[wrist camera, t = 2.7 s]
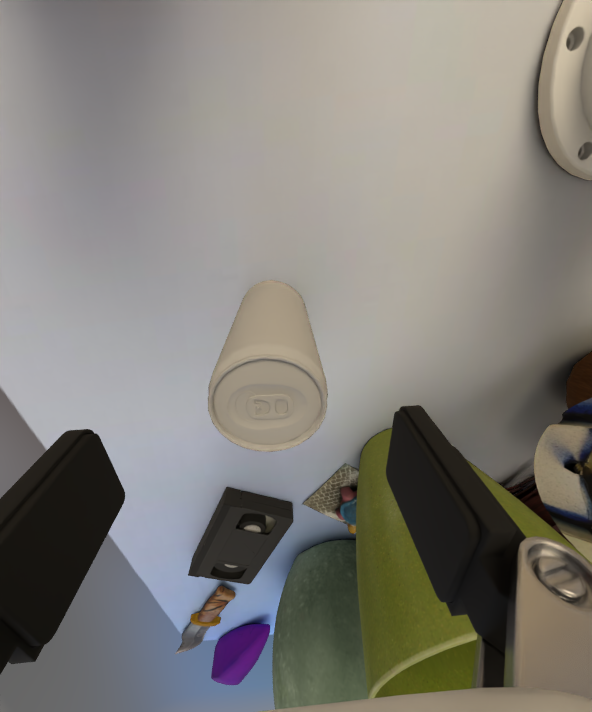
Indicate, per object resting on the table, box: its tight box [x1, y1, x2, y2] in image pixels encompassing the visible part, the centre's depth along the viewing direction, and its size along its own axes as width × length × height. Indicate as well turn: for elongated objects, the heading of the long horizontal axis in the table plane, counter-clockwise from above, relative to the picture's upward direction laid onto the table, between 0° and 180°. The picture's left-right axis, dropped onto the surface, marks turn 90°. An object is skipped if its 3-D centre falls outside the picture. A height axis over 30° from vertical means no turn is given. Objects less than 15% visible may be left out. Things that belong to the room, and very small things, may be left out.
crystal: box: [211, 624, 270, 685], centre depth 44 cm, size 5×5×15 cm
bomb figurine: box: [303, 464, 359, 534], centre depth 29 cm, size 8×8×5 cm
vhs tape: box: [188, 487, 293, 584], centre depth 33 cm, size 14×8×2 cm, turn 156°
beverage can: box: [208, 280, 328, 452], centre depth 16 cm, size 5×5×12 cm
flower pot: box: [356, 428, 592, 699], centre depth 22 cm, size 15×15×16 cm
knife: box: [176, 586, 235, 654], centre depth 43 cm, size 25×1×5 cm
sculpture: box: [273, 540, 368, 710], centre depth 30 cm, size 19×16×20 cm
